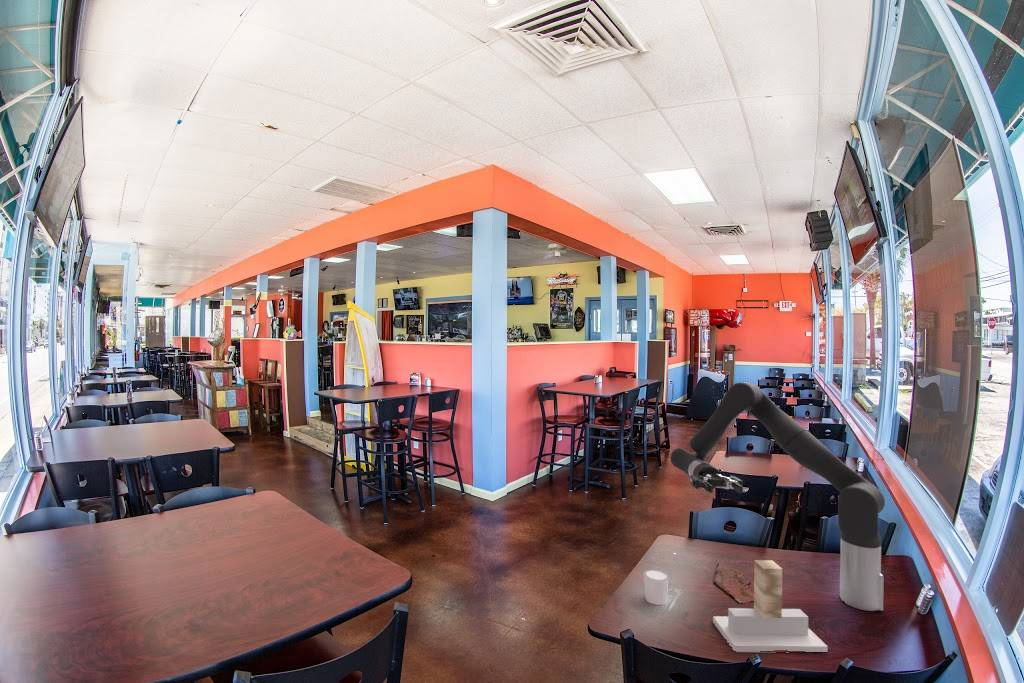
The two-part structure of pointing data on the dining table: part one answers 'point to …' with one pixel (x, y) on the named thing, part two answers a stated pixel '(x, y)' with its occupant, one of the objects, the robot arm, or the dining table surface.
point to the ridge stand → (768, 631)
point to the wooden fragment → (719, 579)
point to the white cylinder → (656, 586)
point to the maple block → (768, 588)
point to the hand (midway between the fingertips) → (726, 489)
